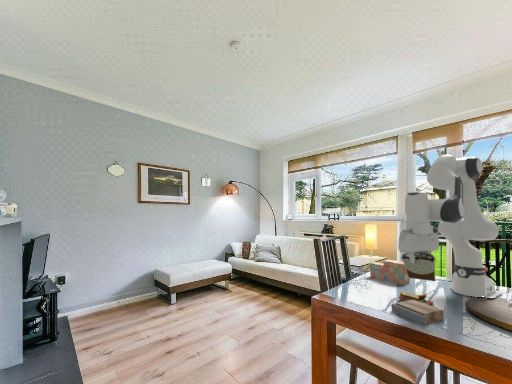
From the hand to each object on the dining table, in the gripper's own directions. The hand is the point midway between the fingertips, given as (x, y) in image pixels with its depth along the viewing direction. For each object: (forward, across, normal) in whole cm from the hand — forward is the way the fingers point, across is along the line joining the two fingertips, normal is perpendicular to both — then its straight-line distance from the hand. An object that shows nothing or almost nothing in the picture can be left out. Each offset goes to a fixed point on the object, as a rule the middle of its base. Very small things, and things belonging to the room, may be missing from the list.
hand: (419, 262), depth 101 cm
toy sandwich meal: (+22, +10, +10) cm, 26 cm away
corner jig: (+22, -1, +1) cm, 22 cm away
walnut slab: (+22, -1, +1) cm, 22 cm away
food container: (+6, +3, +1) cm, 7 cm away
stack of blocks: (+22, +33, +43) cm, 58 cm away
